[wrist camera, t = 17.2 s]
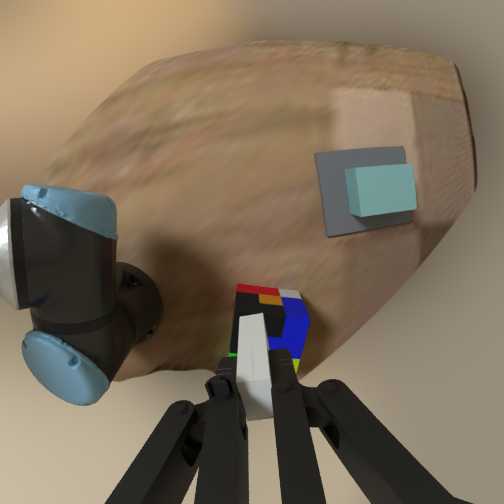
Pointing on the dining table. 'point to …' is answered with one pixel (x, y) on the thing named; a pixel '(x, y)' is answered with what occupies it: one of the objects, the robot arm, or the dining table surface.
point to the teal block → (381, 189)
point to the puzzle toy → (273, 317)
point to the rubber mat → (337, 193)
